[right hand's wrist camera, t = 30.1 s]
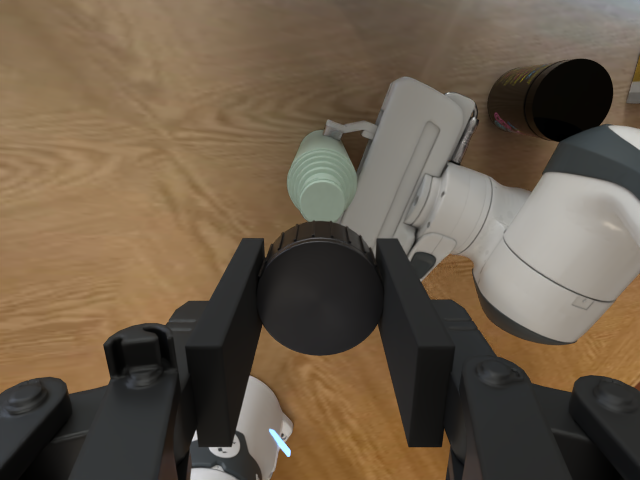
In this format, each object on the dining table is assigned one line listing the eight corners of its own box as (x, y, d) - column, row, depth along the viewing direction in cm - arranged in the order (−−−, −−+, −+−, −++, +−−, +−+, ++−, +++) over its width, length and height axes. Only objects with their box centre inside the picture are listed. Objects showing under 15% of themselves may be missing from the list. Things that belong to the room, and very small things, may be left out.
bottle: (289, 146, 45) (262, 190, 24) (329, 120, 44) (336, 142, 23) (314, 185, 47) (309, 258, 26) (353, 160, 46) (381, 216, 25)
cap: (387, 310, 15) (397, 342, 13) (280, 333, 15) (274, 368, 14) (364, 206, 14) (371, 225, 12) (247, 234, 14) (235, 257, 12)
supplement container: (471, 107, 44) (515, 110, 34) (516, 52, 42) (576, 39, 32) (514, 144, 45) (569, 158, 35) (560, 93, 43) (630, 92, 33)
